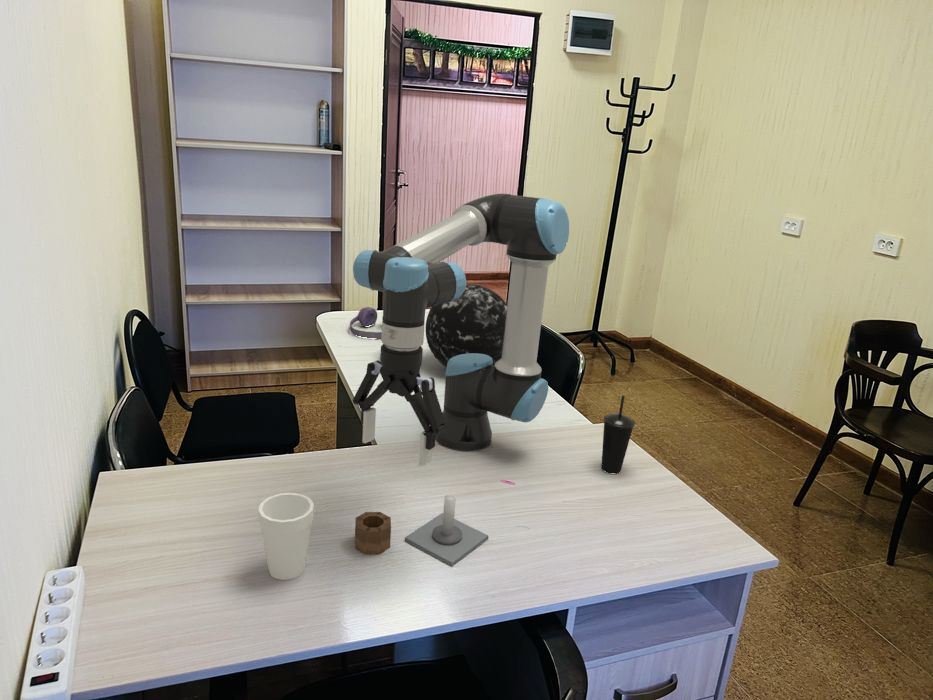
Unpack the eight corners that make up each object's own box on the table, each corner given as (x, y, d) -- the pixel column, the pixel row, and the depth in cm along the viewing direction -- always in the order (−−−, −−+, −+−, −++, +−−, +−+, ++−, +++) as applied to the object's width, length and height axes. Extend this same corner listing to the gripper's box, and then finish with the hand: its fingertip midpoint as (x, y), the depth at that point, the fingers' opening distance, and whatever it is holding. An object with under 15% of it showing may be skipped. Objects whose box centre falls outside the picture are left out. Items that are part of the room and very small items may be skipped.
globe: (466, 351, 246) (473, 272, 237) (527, 376, 227) (536, 290, 217) (405, 366, 226) (409, 280, 217) (465, 394, 207) (473, 301, 197)
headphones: (359, 320, 271) (343, 342, 254) (359, 302, 267) (342, 322, 250) (403, 326, 269) (389, 348, 251) (403, 307, 265) (389, 328, 247)
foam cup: (266, 552, 125) (264, 492, 121) (316, 553, 126) (316, 493, 122) (255, 585, 116) (253, 521, 112) (309, 586, 117) (309, 522, 113)
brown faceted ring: (347, 544, 130) (348, 522, 128) (372, 529, 135) (372, 508, 133) (372, 558, 126) (373, 536, 124) (396, 543, 131) (398, 521, 130)
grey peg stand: (404, 540, 132) (406, 498, 129) (442, 516, 142) (445, 476, 138) (452, 566, 126) (455, 522, 123) (488, 538, 135) (492, 497, 132)
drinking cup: (626, 479, 163) (640, 404, 157) (595, 474, 165) (607, 399, 158) (626, 465, 170) (638, 393, 164) (596, 460, 172) (607, 388, 165)
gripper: (336, 333, 122) (333, 438, 129) (447, 367, 110) (438, 481, 116) (363, 325, 128) (359, 426, 135) (471, 357, 116) (461, 465, 122)
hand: (395, 451), depth 126 cm, fingers open, 13 cm apart
